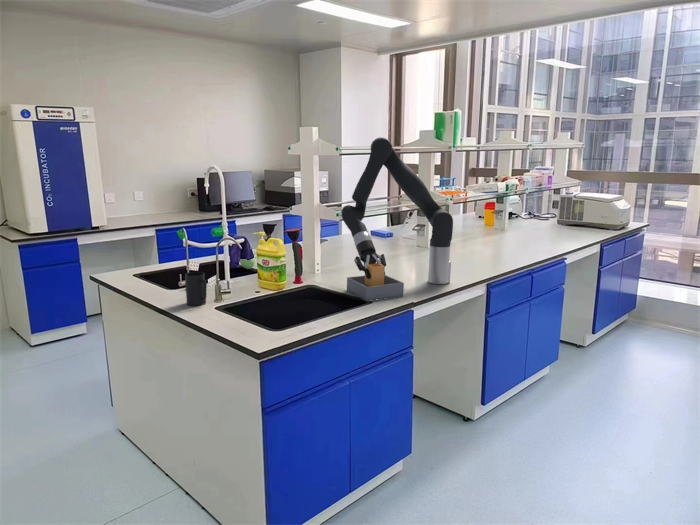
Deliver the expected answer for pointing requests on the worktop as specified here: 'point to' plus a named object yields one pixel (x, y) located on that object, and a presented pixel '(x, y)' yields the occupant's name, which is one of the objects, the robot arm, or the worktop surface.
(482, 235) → the worktop surface
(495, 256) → the worktop surface
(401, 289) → the big crate
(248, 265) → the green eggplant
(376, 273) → the tan cardboard box
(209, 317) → the worktop surface
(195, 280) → the black tapered tumbler
